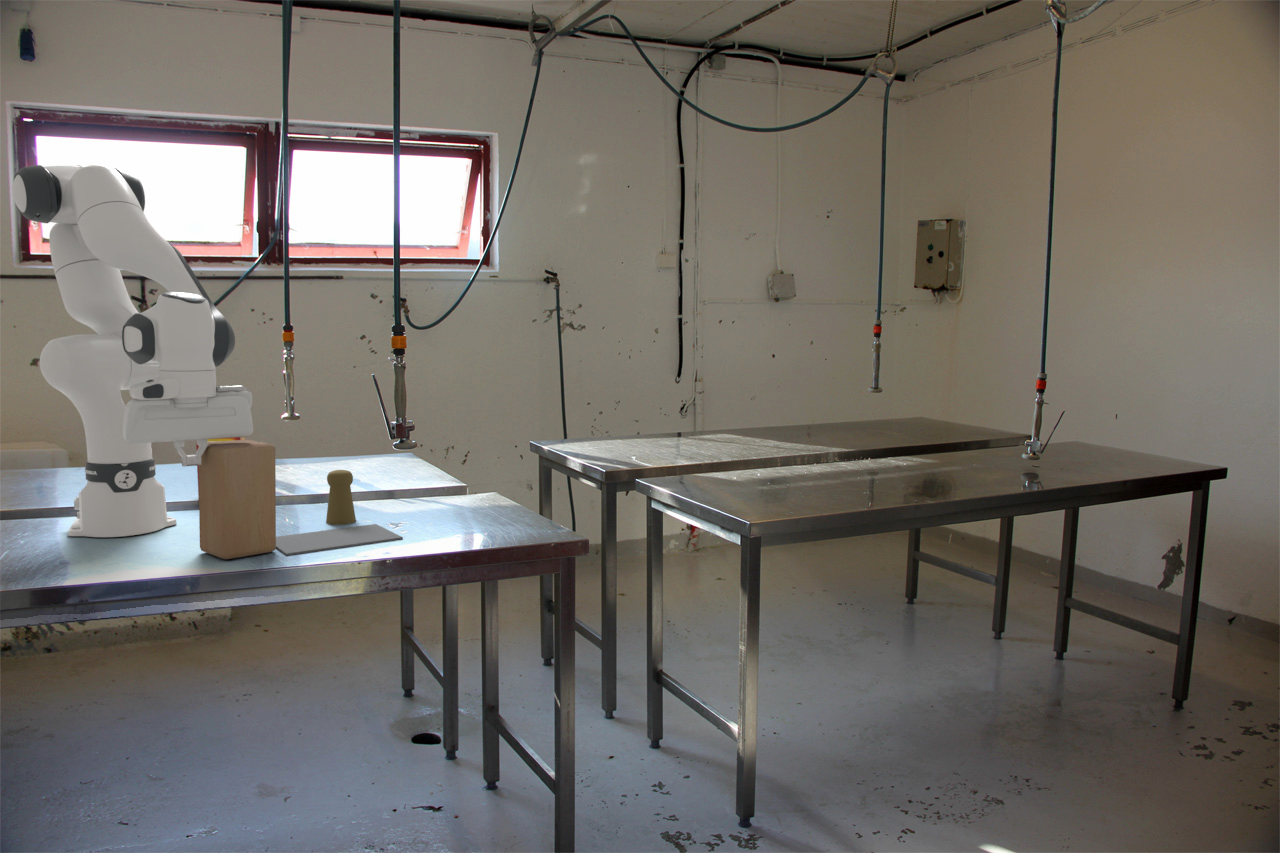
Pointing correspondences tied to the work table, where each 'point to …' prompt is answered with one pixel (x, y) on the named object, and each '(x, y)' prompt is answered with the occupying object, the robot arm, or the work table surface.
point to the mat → (333, 539)
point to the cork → (340, 498)
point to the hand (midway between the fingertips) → (191, 465)
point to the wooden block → (237, 499)
